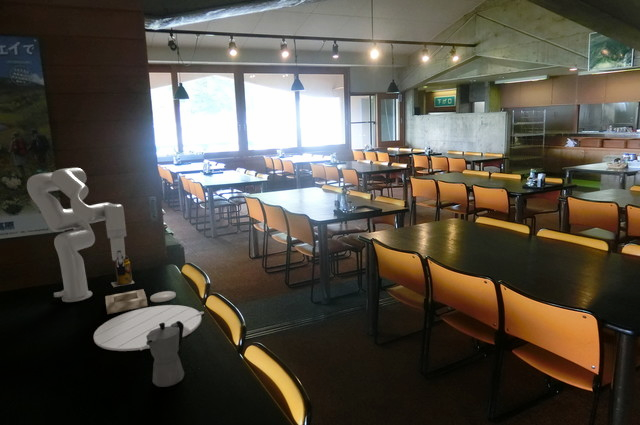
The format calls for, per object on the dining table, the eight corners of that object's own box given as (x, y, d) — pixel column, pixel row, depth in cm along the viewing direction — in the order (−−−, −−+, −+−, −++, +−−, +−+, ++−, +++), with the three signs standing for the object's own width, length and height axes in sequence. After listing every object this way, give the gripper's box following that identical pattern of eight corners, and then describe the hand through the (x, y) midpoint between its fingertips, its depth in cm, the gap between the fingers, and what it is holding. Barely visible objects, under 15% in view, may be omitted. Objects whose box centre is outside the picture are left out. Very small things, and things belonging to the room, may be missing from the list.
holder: (107, 314, 191) (106, 306, 190) (106, 303, 203) (105, 296, 202) (147, 306, 198) (146, 298, 197) (144, 296, 210) (143, 289, 209)
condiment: (134, 283, 198) (131, 256, 196) (113, 287, 193) (110, 260, 191) (131, 279, 204) (128, 253, 202) (111, 283, 200) (107, 257, 198)
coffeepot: (166, 393, 129) (159, 334, 126) (140, 388, 133) (133, 330, 130) (199, 366, 144) (193, 313, 140) (175, 362, 147) (169, 310, 144)
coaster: (152, 304, 200) (151, 301, 200) (149, 296, 209) (148, 294, 209) (177, 298, 204) (177, 296, 204) (173, 291, 214) (173, 289, 214)
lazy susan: (223, 314, 185) (222, 306, 184) (151, 360, 150) (150, 350, 150) (150, 303, 202) (149, 296, 201) (70, 341, 167) (68, 333, 166)
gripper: (106, 230, 200) (111, 269, 204) (107, 238, 185) (112, 280, 189) (124, 228, 204) (129, 266, 207) (127, 236, 188) (132, 277, 192)
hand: (121, 272), depth 198 cm, fingers closed on condiment, 6 cm apart
